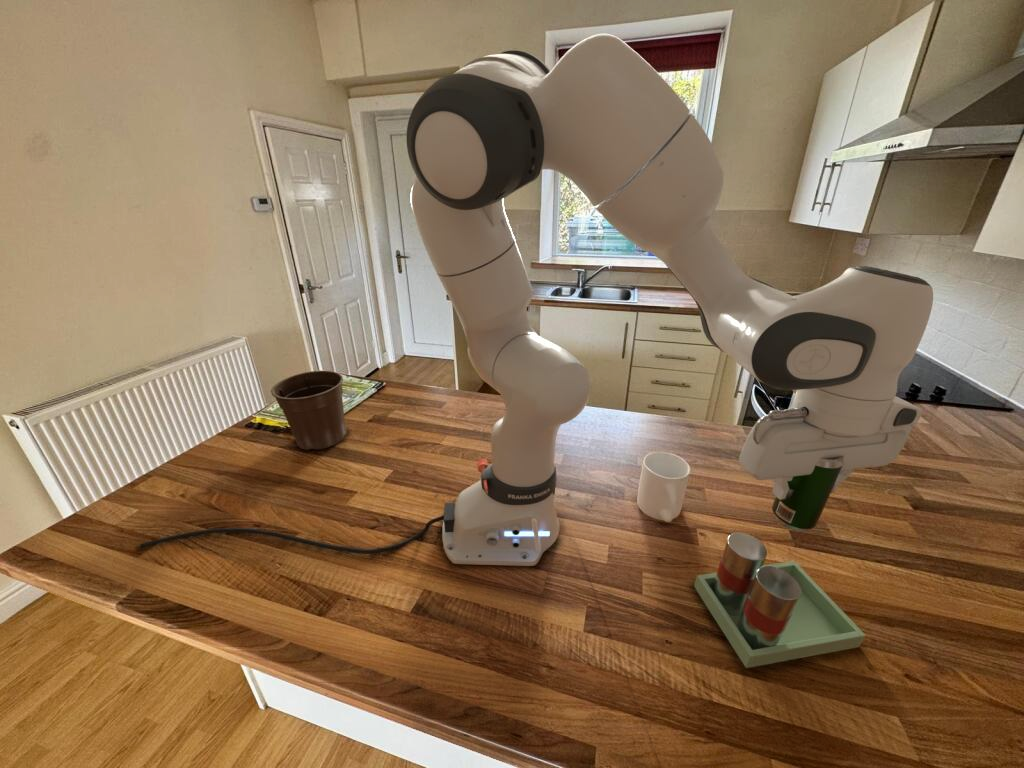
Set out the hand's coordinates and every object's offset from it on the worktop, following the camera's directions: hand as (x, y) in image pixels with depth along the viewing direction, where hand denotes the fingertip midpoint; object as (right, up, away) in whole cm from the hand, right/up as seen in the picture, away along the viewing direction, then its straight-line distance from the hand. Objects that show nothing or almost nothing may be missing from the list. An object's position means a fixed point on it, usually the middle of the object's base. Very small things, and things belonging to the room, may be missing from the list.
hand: (802, 493), depth 55 cm
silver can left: (-6, -19, +8) cm, 22 cm away
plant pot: (-90, +1, +51) cm, 104 cm away
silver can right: (-5, -22, +3) cm, 22 cm away
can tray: (-1, -20, +6) cm, 21 cm away
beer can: (0, -4, +2) cm, 5 cm away
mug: (-10, -11, +26) cm, 30 cm away
